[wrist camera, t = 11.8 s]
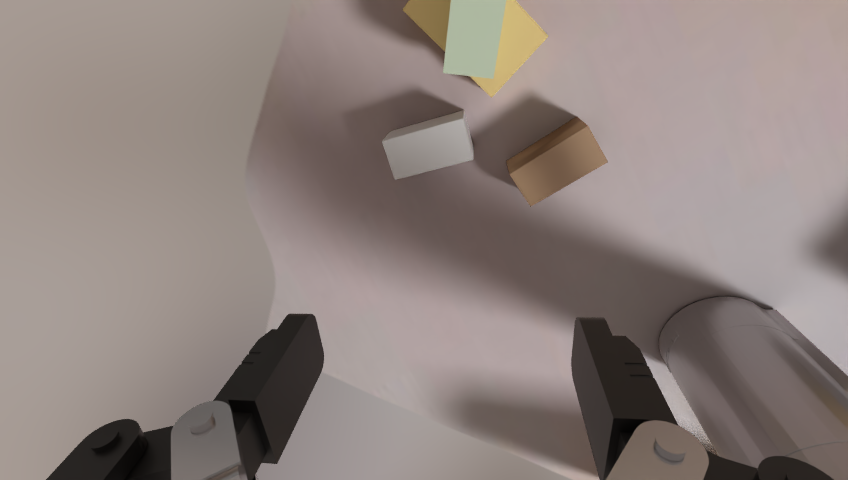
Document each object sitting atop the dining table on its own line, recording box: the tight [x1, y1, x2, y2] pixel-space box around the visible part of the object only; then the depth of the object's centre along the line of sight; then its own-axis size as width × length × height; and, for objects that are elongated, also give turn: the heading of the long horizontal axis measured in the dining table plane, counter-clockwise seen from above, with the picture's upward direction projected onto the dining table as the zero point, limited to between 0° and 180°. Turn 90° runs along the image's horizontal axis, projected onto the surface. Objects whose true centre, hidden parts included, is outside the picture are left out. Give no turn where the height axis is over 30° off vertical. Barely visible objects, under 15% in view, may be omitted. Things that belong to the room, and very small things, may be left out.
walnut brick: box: [506, 117, 608, 207], centre depth 31 cm, size 6×3×4 cm, turn 126°
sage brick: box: [443, 0, 506, 79], centre depth 25 cm, size 6×3×4 cm, turn 174°
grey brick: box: [382, 110, 474, 180], centre depth 31 cm, size 6×3×4 cm, turn 107°
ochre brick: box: [403, 0, 548, 98], centre depth 27 cm, size 8×5×3 cm, turn 49°
